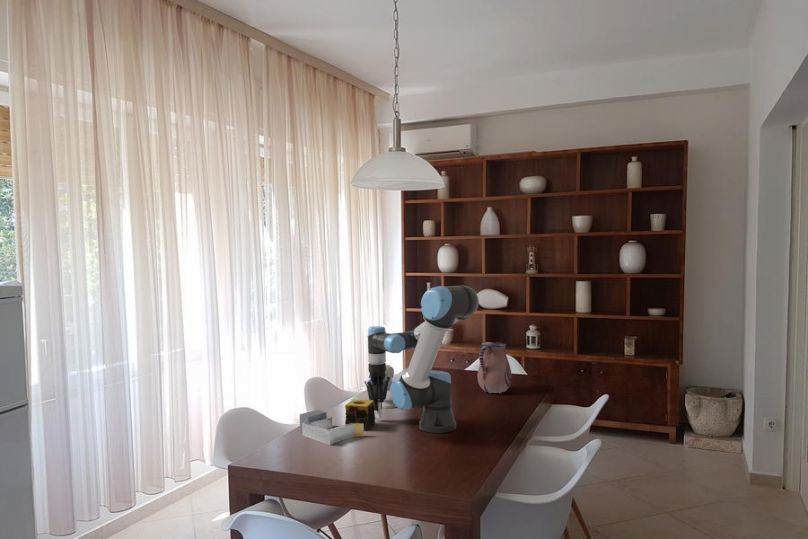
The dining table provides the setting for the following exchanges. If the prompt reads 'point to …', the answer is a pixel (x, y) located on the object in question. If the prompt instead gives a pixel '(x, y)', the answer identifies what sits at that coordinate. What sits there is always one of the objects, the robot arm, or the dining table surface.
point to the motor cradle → (327, 428)
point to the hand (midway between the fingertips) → (378, 417)
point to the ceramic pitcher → (494, 368)
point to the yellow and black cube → (360, 413)
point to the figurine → (388, 401)
